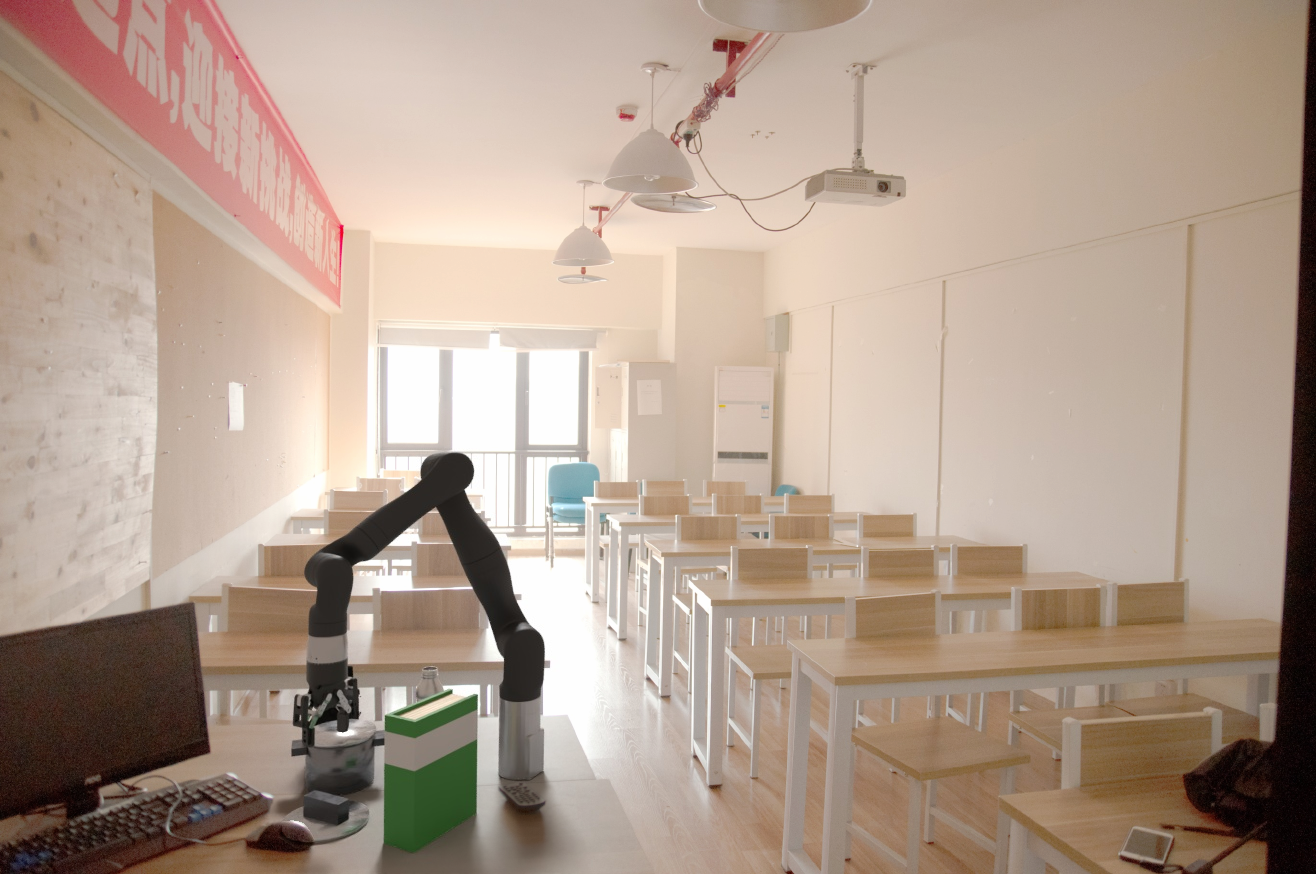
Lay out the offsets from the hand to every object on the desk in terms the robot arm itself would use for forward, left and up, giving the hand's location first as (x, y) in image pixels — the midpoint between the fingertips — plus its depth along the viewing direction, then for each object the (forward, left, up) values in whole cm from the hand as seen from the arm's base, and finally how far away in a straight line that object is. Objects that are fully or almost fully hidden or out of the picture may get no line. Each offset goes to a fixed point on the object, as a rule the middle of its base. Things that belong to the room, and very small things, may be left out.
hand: (326, 739), depth 163 cm
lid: (0, 0, -17) cm, 17 cm away
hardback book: (-20, -7, -17) cm, 27 cm away
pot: (+11, -15, -16) cm, 25 cm away
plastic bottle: (+4, -36, -17) cm, 40 cm away
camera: (+25, -29, -17) cm, 42 cm away
